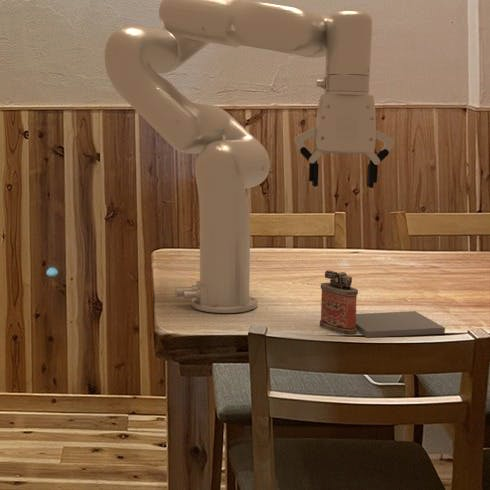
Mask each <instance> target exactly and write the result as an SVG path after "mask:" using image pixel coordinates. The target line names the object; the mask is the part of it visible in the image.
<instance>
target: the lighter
mask: <svg viewBox="0 0 490 490" xmlns="http://www.w3.org/2000/svg"><path fill="white" fill-rule="evenodd" d="M324 279H329V282H321V283H320V290H321V297H320V298H321V303H320V305H321V306H320V308H321V309H320V320H319V327H320V328H323V329H325V330H327V331H331V332H333V333H337V334H342V335H346V336H352V335H356V334H357V333H358V332H357V328H356V314H357V296H358V295H359V290H358V289H357V288H354V287H352V283H353V276H351V275H347V273H346V271H342V272H341V271H340V272H338V271H334V270H330V269H329V270H325V271H324Z"/></svg>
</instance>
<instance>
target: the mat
mask: <svg viewBox="0 0 490 490" xmlns="http://www.w3.org/2000/svg"><path fill="white" fill-rule="evenodd" d="M356 328H357V331H358V332H359V333H360V334H361V335H363V336H364V337H366V338H381V337H382V338H384V337H402V336H420V335H421V336H423V335H439V334H440V335H441V334H446V331H445V330H446V327H444V326H443V325H442V324H439V323H437V322H435V321H434V320H432V319H430V318H428V316H427V317H426V316H425V315H424V314H421V313H419V312H418V311H415V310H409V311H390V312H389V311H388V312H369V313H368V312H366V313H356Z"/></svg>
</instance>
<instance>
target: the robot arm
mask: <svg viewBox="0 0 490 490" xmlns="http://www.w3.org/2000/svg"><path fill="white" fill-rule="evenodd" d="M158 16H159V17H158V18H159V21H160V23H161V25H162V27H163V28H162V29H156V28H150V27H146V26H145V27H144V26H139V25H128V26H122V27H120V28H117V29H116V30H114V31H113V32H112V33H111V34H110V36H108V39H107V41H106V44H105V49H104V66H105V70H106V73H107V76H108V78H109V82H110V83H111V85H112V86H113V88H114V89H115V91H116V92H117V93H118V94H119V95H120V97H121V98H122V99H123V100H124V101H125V102H126V103H127V104H129V106H130V107H132V108H133V109H134V110H135V111H136V112H137V113H138V115H140V116H142V118H143V119H144V120H145V121H146V122H147V123H148V124H149V125H150V126H151V128H153V130H155V131H156V132H157V133H158V134H159V135H160V136H161V137H162V138H163V139H164V140H165V141H166V142H167V143H168V144H169V145H170V146H171V147H172V148H173V149H174V150H176V151H178V153H179V152H180V153H182V154H197V158H196V160H195V165H194V174H195V180H196V181H195V182H196V187H197V192H198V203H199V205H198V206H199V280H196V284H191V286H175V289H174V293H175V297H176V298H179V297H180V298H182V297H183V299H191V298H192V299H191V307H192V308H193V309H195V310H197V311H200V312H207V313H214V314H235V313H237V314H238V313H243V312H249V311H251V310H252V311H253V310H255V309H256V308H257V307H258V300H257V298H255V297H253V296H251V295H250V282H251V281H250V277H251V276H250V274H251V273H250V267H251V264H250V263H251V262H250V261H251V260H250V259H251V253H250V251H251V213H250V212H251V211H250V210H251V209H250V203H249V199H248V196H247V191H246V189H250V188H254V187H256V186H259V185H261V184H262V183H263V182H264V181H265V180H266V178H267V177H268V175H269V173H270V169H271V161H270V156H269V154H268V152H267V150H266V149H265V147H264V145H263V144H262V143H260V142H259V140H257V138H255V137H254V135H253V134H251V133H250V132H249V130H247V129H246V128H245V127H244V126H243V125H242V124H240V122H238V121H237V120H236V119H235V117H233V116H232V115H231V114H229V113H228V112H227V111H226V110H225V109H222V108H220V107H218V106H216V105H214V104H206V103H197V102H193V101H191V99H189V98H187V96H185V95H184V94H183V93H182V92H181V91H179V90H178V88H176V87H175V85H173V84H172V83H171V82H170V81H169V80H167V79H166V78H164V77H163V76H161V75H160V74H166V73H167V74H168V73H171V72H172V71H173V72H174V70H176V69H178V68H179V67H181V66H182V65H184V64H185V63H186V62H187V61H188V60H190V59H191V58H193V57H194V56H195V55H196V54H198V53H199V52H200V51H202V50H203V49H204V48H206V46H208V45H209V44H211V43H212V44H217V45H220V46H221V45H222V46H228V47H233V48H234V47H235V48H239V47H241V46H242V47H243V46H244V47H248V48H249V47H250V48H256V49H261V50H262V49H263V50H267V51H273V52H278V53H281V54H288V55H293V56H294V55H295V56H301V57H305V58H311V59H313V58H314V59H316V58H323V57H325V75H324V77H322V78H316V87H317V88H321V89H323V91H324V93H322V94H320V97H319V101H318V106H317V111H316V112H317V113H316V120H315V126H314V127H312V128H311V129H309V130H307V131H304V132H302V133H300V134H298V135H296V136H294V139H293V140H294V142H295V145H296V146H297V148H298V149H297V150H298V151H299V153H300V154H301V155H302V156H303V157H304V158H305V159H306V160H307V161H308V163H309V167H308V181H309V182H311V185H312V187H318V186H319V170H320V169H319V166H320V165H319V163H318V160H319V159H320V157H321V156H323V154H324V153H325V154H357V155H359V154H360V155H363V154H364V155H365V157H367V159H368V160H369V163H368V164H367V167H366V168H367V169H366V170H367V171H366V187H367V188H369V189H374V184H377V182H378V171H379V169H378V167H379V165H380V163H381V162H382V161H383V160H384V159H386V157H387V156H389V153H390V152H391V151H392V149H393V147H394V145H395V143H396V141H395V139H394V138H392V137H391V136H389V135H387V134H385V133H384V132H381V130H378V129H377V128H376V127H377V126H376V124H377V121H376V105H375V98H374V95H371V94H370V76H371V53H372V52H371V51H372V34H373V20H372V16H371V15H370V14H369V13H367V12H365V11H360V10H359V11H358V10H340V11H335V12H333V13H331V14H330V15H324V14H319V13H315V12H312V11H309V10H305V9H302V8H299V7H293V6H287V5H286V6H285V5H281V4H273V3H266V2H261V1H260V2H259V1H253V0H252V1H251V0H162V1H161V2H160V5H159V7H158ZM369 94H370V95H369ZM313 137H314V147H315V149H314V150H313V151H312V152H310V151H309V149H308V148H307V147H306V145H305V142H306V140H308V139H310V138H313ZM376 139H378V141H379V140H380V141H381V142H382V143H383V147H382V148H381V150H379V151H378V153H375V152H374V151H375V148H376V144H377V143H376V141H377V140H376Z"/></svg>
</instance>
